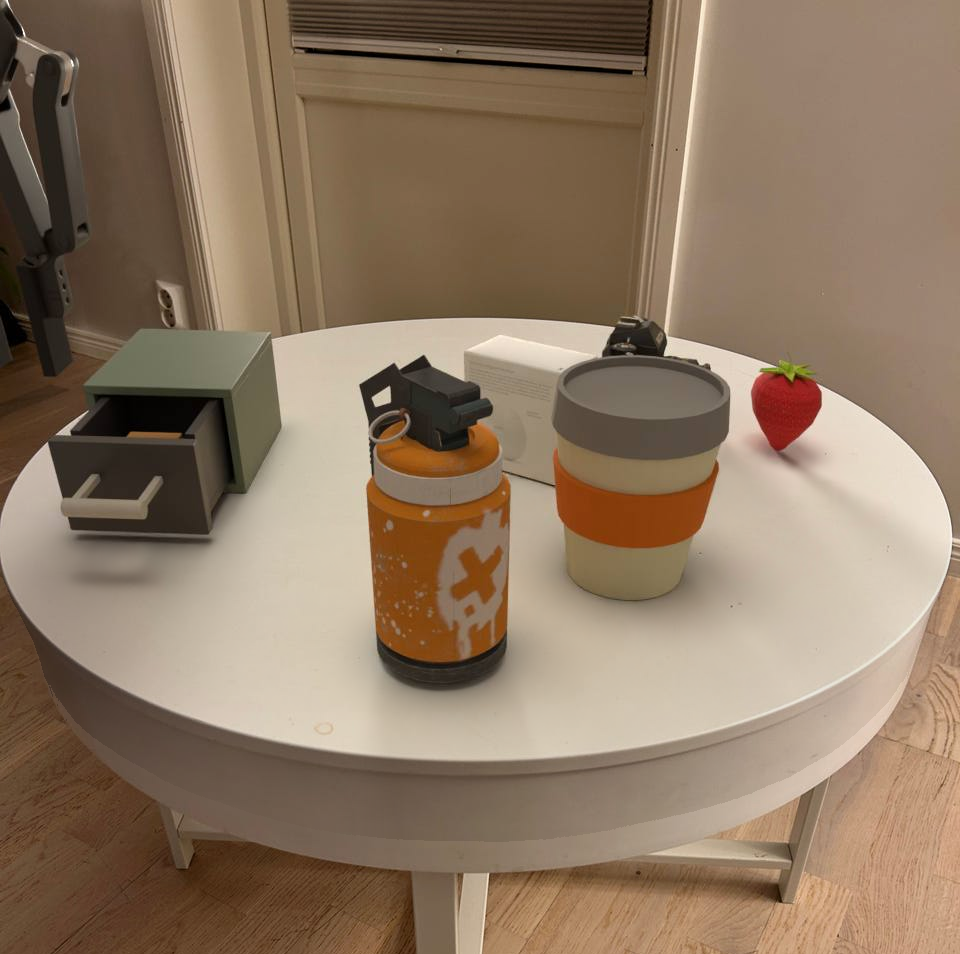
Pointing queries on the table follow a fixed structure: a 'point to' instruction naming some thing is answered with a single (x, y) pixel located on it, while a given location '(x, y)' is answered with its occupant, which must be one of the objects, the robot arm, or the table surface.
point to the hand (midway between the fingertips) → (27, 367)
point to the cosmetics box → (521, 399)
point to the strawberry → (785, 402)
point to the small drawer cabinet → (204, 383)
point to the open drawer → (144, 465)
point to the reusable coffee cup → (635, 468)
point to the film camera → (640, 340)
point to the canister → (436, 525)
